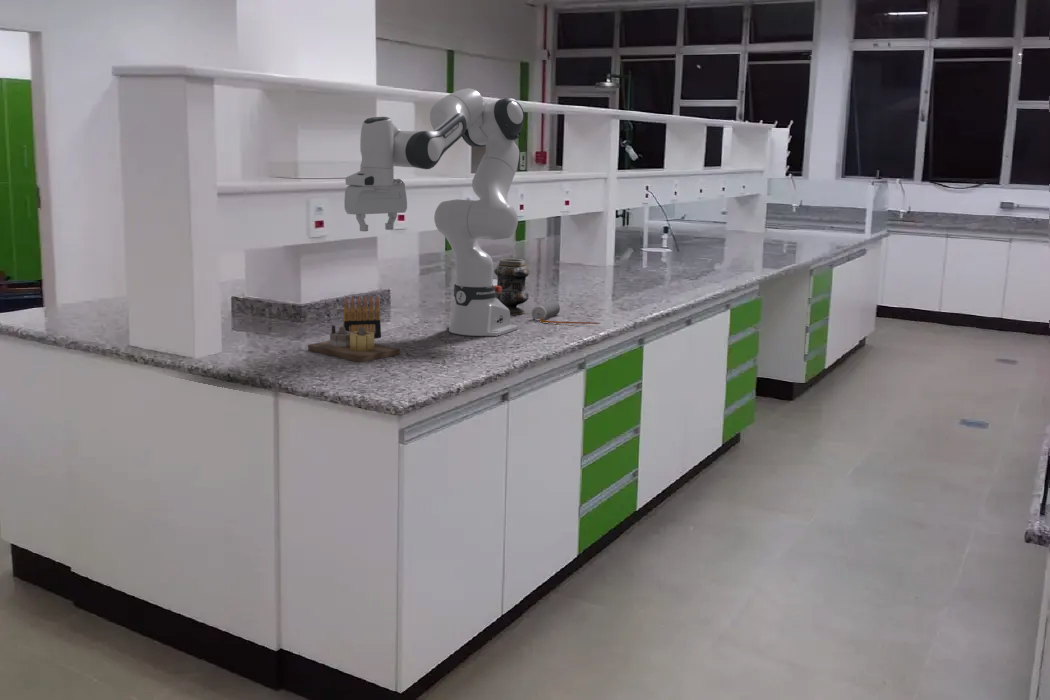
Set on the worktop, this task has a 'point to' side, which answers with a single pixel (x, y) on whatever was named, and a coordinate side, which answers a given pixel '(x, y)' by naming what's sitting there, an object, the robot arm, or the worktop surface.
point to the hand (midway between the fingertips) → (376, 230)
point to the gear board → (341, 347)
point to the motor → (550, 312)
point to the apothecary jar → (512, 283)
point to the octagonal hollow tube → (362, 341)
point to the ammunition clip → (362, 316)
